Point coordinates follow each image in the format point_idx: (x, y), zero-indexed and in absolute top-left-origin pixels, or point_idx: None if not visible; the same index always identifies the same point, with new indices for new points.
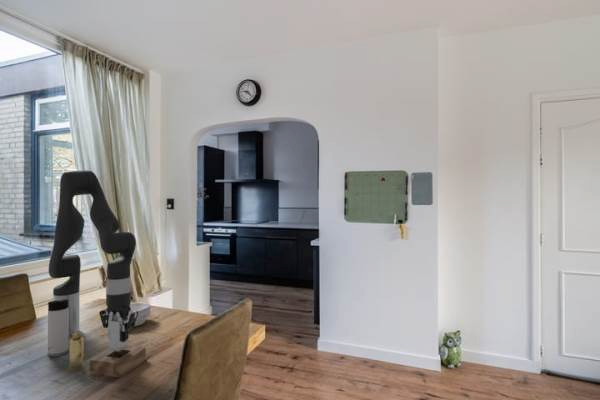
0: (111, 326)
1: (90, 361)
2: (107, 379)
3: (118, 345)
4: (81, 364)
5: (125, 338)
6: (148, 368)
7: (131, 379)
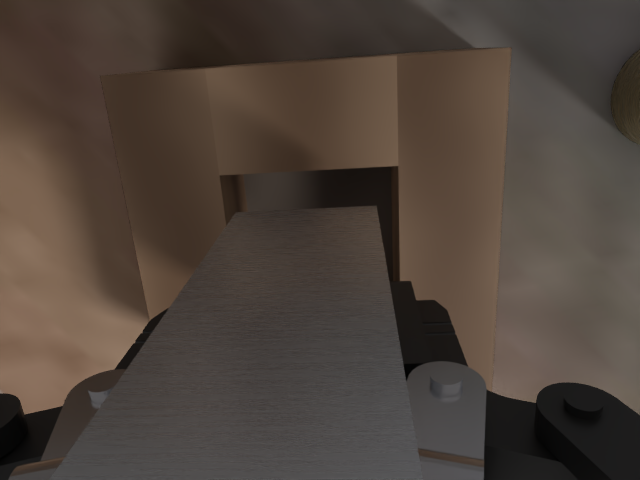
0: (336, 385)
1: (495, 48)
2: (243, 12)
3: (233, 235)
4: (633, 97)
5: (152, 324)
6: (76, 246)
7: (57, 70)
